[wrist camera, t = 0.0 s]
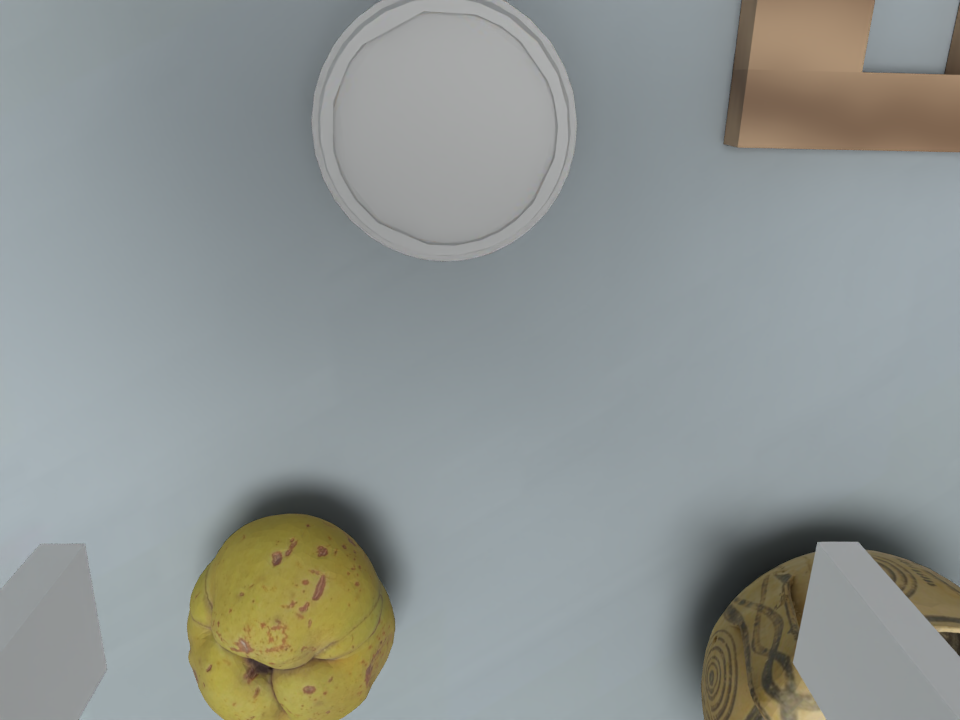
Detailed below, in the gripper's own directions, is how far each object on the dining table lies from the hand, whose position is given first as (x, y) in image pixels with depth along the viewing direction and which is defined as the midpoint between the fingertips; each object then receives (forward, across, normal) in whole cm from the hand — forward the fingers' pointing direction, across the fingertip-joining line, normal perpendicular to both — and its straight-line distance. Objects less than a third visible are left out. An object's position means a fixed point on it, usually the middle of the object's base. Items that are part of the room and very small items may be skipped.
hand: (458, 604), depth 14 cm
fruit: (+28, -8, -19) cm, 35 cm away
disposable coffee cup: (+28, 0, +7) cm, 29 cm away
